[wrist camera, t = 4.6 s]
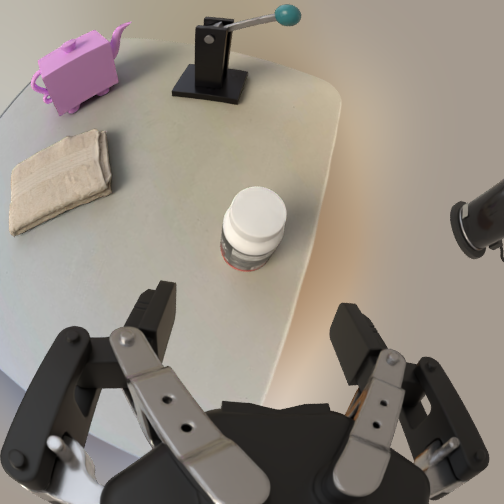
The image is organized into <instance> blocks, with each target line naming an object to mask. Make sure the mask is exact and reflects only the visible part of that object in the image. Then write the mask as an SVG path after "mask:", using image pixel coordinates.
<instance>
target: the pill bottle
mask: <svg viewBox="0 0 504 504" xmlns="http://www.w3.org/2000/svg"><path fill="white" fill-rule="evenodd" d="M286 218H287V210H286V206H285V204H284V202H283V200H282V199H281V197H280V196H279V195H278V194H276V193H275V192H274V191H272V190H270V189H268V188H265V187H259V186H254V187H248V188H246V189H244V190H242V191H240V192H239V193H238V194H237V195H236V196H235V197H234V199H233V201H232V204H231V206H230V207H229V208H228V210H227V211H226V213H225V216H224V219H223V226H222V235H221V245H220V247H221V253H222V256H223V258H224V260H225V261H226V263H227V264H228V265H229V266H231V267H232V268H234V269H236V270H238V271H243V272H250V271H254V270H257V269H259V268H260V267H262V266H263V265H264V264H265V263H266V262H267V260H268V259H269V258H270V256H271V255H272V253H273V252H274V251H275V249H276V248H277V246H278V245H279V243H280V242H281V240H282V237H283V235H284V229H285V222H286Z"/></svg>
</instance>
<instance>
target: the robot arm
mask: <svg viewBox="0 0 504 504" xmlns="http://www.w3.org/2000/svg"><path fill="white" fill-rule="evenodd" d="M458 222H459V227H460V230H461V233H462V235H463V237H464V239H465V241H466V242H467V244H468V245H469V246H470V247H471V248H472V249H473V250H475V251H480V250H482V249H483V248H485V247H487V246H489V248H490V249H492V250H495V249H497V248H499V247H500V249H501V259H502V261H503V262H504V257H503V248H502V246H503V244H502V239H503V238H504V179H503V180H502V181H500V182H499V183H497V184H496V185H495V186H493V187H492V188H491V189H489V190H488V191H486V192H485V193H484V194H482V195H480V196H479V197H477V198H476V199H475V200H473V201H472V202H470V203H469V204H468V203H466V204H465V205H463V207H462V208H460V210H459V212H458ZM175 314H176V283H174V282H168V281H160V282H159V284H158V286H157V288H156V290H151V289H148V290H146V291H145V292H143V293H142V294H141V295H140V297H139V299H138V301H137V302H136V304H135V306H134V308H133V310H132V312H131V314H130V315H129V317H128V319H127V321H126V323H125V325H124V327H120V328H118V329H116V330H114V331H113V332H112V333H111V335H110V337H102V338H90V336H89V333H88V331H87V330H85V329H84V328H82V327H78V326H72V327H68V328H65V329H63V330H62V331H61V332H60V333H59V334H58V336H57V338H56V339H55V341H54V343H53V344H52V346H51V348H50V349H49V351H48V353H47V354H46V356H45V358H44V360H43V361H42V363H41V365H40V367H39V368H38V370H37V372H36V374H35V376H34V378H33V380H32V382H31V384H30V385H29V387H28V389H27V391H26V393H25V396H24V398H23V400H22V402H21V404H20V406H19V408H18V410H17V413H16V415H15V417H14V419H13V422H12V424H11V426H10V429H9V431H8V434H7V437H6V439H5V442H4V445H3V447H2V450H1V455H0V458H1V464H2V466H3V469H4V470H5V472H6V473H7V474H8V475H9V476H10V477H11V478H13V479H14V480H15V481H17V482H18V483H20V484H21V485H22V486H23V487H24V488H25V489H27V490H28V491H30V492H32V493H33V494H35V495H36V496H38V497H40V498H42V499H44V500H46V501H48V502H50V503H52V504H429V499H430V500H438V499H440V498H442V497H444V496H445V495H447V494H449V493H450V492H452V491H454V490H455V489H457V488H458V487H460V486H461V485H463V484H464V483H466V482H467V481H469V480H470V479H472V478H473V477H475V476H476V475H477V474H479V473H480V472H481V471H483V470H484V469H485V468H486V467H487V466H488V463H489V454H488V451H487V449H486V447H485V445H484V443H483V440H482V438H481V436H480V434H479V432H478V430H477V428H476V426H475V424H474V422H473V421H472V419H471V417H470V415H469V413H468V411H467V410H466V407H465V406H464V404H463V402H462V400H461V398H460V397H459V395H458V393H457V392H456V390H455V388H454V387H453V385H452V383H451V381H450V380H449V378H448V376H447V375H446V373H445V372H444V370H443V368H442V367H441V365H440V364H439V363H438V362H437V361H436V360H435V359H433V358H430V357H422V358H421V359H420V361H419V362H418V364H412V363H407V362H406V361H405V358H404V357H403V356H402V355H401V354H400V353H399V352H397V351H395V350H392V349H388V348H387V346H386V345H385V343H384V341H383V340H382V338H381V336H380V335H379V333H377V330H376V328H374V325H373V323H372V322H371V320H370V319H369V318H368V317H366V316H365V315H364V314H362V313H361V311H360V310H359V308H358V307H357V305H356V304H351V303H341V304H340V305H339V307H338V310H337V312H336V315H335V317H334V320H333V322H332V325H331V327H330V340H331V342H332V345H333V347H334V350H335V352H336V355H337V357H338V360H339V362H340V365H341V367H342V370H343V372H344V375H345V377H346V380H347V383H348V385H349V386H350V385H358V386H359V388H358V390H357V391H356V393H355V395H354V397H353V399H352V402H351V404H350V406H349V408H348V410H347V412H346V414H345V415H343V414H341V413H338V412H334V411H330V407H329V404H328V403H325V404H304V405H299V406H295V407H290V408H286V409H281V410H277V409H272V408H268V407H263V406H259V405H255V404H252V403H241V402H228V401H222V406H221V409H214V410H210V411H206V412H204V411H203V410H202V409H201V407H200V406H199V405H198V403H197V402H196V401H195V400H194V398H193V397H192V396H191V394H190V393H189V392H188V390H187V389H186V387H185V386H184V385H183V383H182V382H181V381H180V379H179V378H178V376H177V375H176V373H175V372H174V371H173V369H172V368H171V367H169V366H167V367H164V366H163V365H162V362H163V358H164V355H165V351H166V348H167V344H168V341H169V337H170V334H171V331H172V327H173V324H174V320H175ZM102 388H121V389H122V391H123V393H124V395H125V397H126V399H127V401H128V403H129V405H130V407H131V409H132V411H133V413H134V414H135V416H136V418H137V420H138V422H139V424H140V426H141V429H142V431H143V433H144V435H145V437H146V439H147V440H148V442H149V444H150V445H151V447H152V450H151V451H149V452H148V453H147V454H145V455H144V456H143V457H141V458H140V459H138V460H137V461H136V462H134V463H133V464H131V465H130V466H129V467H127V468H126V469H124V470H123V471H121V472H120V473H118V474H117V475H115V476H114V477H112V478H111V479H110V480H109V481H108V482H107V483H106V485H105V486H103V485H100V484H99V483H98V482H97V480H96V477H95V465H94V463H93V460H92V459H91V458H90V456H89V455H88V454H87V453H86V451H85V450H84V447H85V443H86V439H87V436H88V432H89V429H90V425H91V422H92V418H93V415H94V412H95V408H96V405H97V402H98V399H99V396H100V393H101V390H102ZM425 395H426V396H427V398H428V400H429V402H430V404H431V412H430V414H429V415H428V416H427V414H426V412H425V410H424V408H423V405H422V403H421V400H422V398H423V397H424V396H425ZM398 419H399V420H400V423H401V425H402V428H403V431H404V433H405V436H406V439H407V442H408V444H409V447H410V450H411V453H412V456H413V459H414V463H412V462H411V461H409V460H407V459H406V458H405V457H403V456H402V455H400V454H399V453H398V452H396V451H394V450H393V449H392V448H390V446H391V442H392V439H393V436H394V433H395V429H396V426H397V422H398Z"/></svg>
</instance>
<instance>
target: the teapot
mask: <svg viewBox="0 0 504 504" xmlns="http://www.w3.org/2000/svg"><path fill="white" fill-rule="evenodd" d="M130 23H131V22H127V23H125V24H122V25H120V26H119V27H117V28H116V29H115V31H114V33H113V36H112V39H111V42H109V41H108V40H106V39H105V38H104V37H103V36H102V35H100V34H99V33H98V32H97V31H96V30H93V31H91V32H88V33H87V34H84V35H82V36H80V37H78V38H76V39H71V40H69V41H67V42H65V43H64V44H62V45H61V47H60V48H58V49H56V50H54V51H52V52H51V53H49V54H47V55H46V56H44V57H43V58H41V59H39V60H38V64H39V68H40V69H39V70H38V71H37V72H36V73H35V74H34V76H33V78H32V80H31V87H32V89H33V90H34V91H36V92H39V93H42V94H45V95H44V97H43V100H44V102H45V103H46V104H49V103H52V102H53V103H54V105H55V107H56V109H57V111H58V113H59V115H60V116H62V115H63V114H65V113H66V112H68V113H74V112H76V111H77V110H78V109H79V108H80V103H82V102H84V101H85V100H87V99H89V98H90V97H92V96H94V95H96V94H97V95H98V96H102V95H105V94H106V93H108V92H109V87H111V86H113V85H114V84H116V83H118V82H119V81H118V77H117V73H116V68H115V64H114V59H115V58H116V56H117V54H118V51H119V46H120V38H121V34H122V32H123V30H124V29H125V28H126V27H127V26H128V25H129V24H130ZM40 74H41V76H42V79H43V81H44V84H45V86H46V88H47V89H45V88H42V87H39V86H37V85H36V84H35V81H36V79H37V78H38V76H39V75H40ZM48 95H49V96H50V98H49V99H47V96H48Z"/></svg>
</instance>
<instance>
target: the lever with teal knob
mask: <svg viewBox="0 0 504 504" xmlns="http://www.w3.org/2000/svg"><path fill="white" fill-rule="evenodd" d="M300 19H301V13H300V11H299V9H298V8H297V7H295V6H293V5H289V4H285V5H281V6H279V7H278V8H277V9H276V10H275V14H270V15H266V16H261V17H256V18H252V19H247V20H243V21H240V22H236V23H232V24H228V25H225V26H224V25H223V23H222V22H219V23H215V24H212V25H209V26H215V27H224V28H228V32H230V31H234V30H238V29H242V28H246V27H250V26H254V25H259V24H264V23H268V22H273V21H277V22H278V23H280V24H281V25H284V26H293V25H296V24H297V23H298V22H299V21H300ZM228 32H227V34H228Z"/></svg>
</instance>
